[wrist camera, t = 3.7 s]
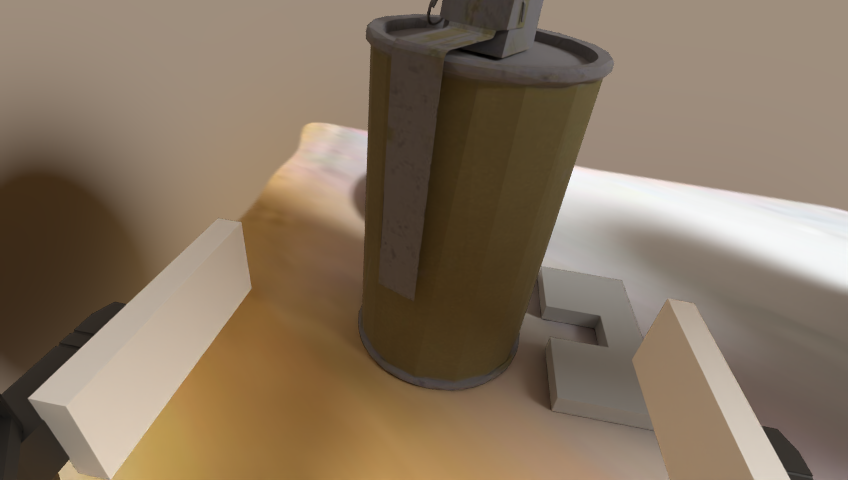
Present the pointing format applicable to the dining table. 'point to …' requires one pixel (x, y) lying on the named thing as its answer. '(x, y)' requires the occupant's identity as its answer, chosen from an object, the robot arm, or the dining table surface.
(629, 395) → the notched board
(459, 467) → the dining table surface
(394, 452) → the dining table surface
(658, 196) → the dining table surface
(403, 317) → the canister
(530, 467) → the dining table surface
